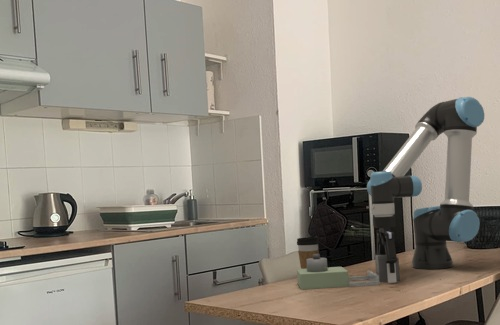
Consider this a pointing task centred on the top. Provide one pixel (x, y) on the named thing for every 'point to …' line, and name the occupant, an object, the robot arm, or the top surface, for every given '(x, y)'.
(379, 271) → the grey block
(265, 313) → the top surface
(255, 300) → the top surface
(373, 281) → the chute bracket
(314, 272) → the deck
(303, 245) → the coffee cup
